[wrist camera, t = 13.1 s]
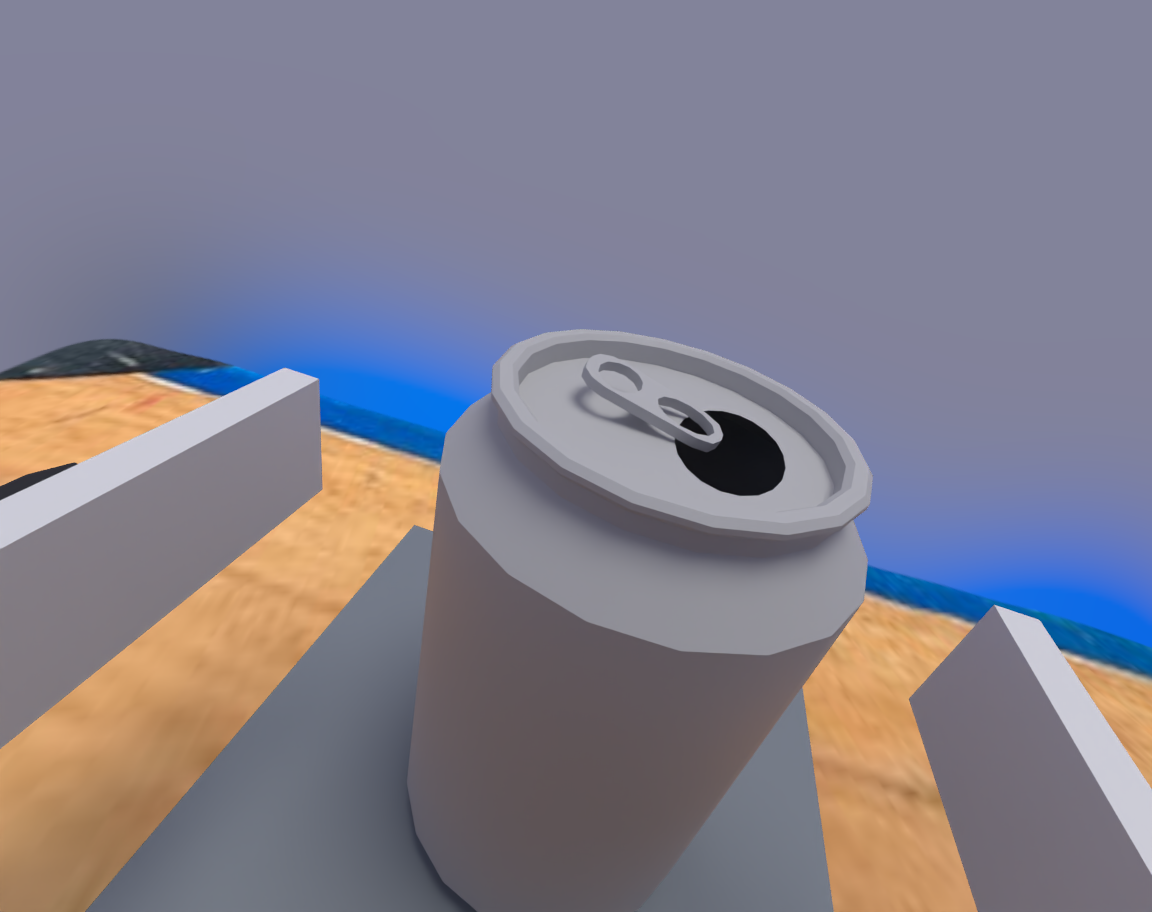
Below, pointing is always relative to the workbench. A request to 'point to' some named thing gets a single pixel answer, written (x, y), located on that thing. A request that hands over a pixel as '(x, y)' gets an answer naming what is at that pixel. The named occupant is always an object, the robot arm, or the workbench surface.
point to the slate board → (382, 805)
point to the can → (618, 611)
